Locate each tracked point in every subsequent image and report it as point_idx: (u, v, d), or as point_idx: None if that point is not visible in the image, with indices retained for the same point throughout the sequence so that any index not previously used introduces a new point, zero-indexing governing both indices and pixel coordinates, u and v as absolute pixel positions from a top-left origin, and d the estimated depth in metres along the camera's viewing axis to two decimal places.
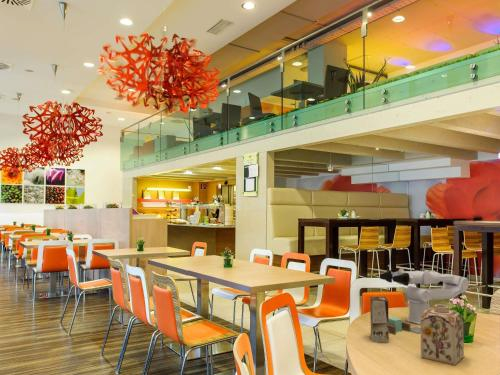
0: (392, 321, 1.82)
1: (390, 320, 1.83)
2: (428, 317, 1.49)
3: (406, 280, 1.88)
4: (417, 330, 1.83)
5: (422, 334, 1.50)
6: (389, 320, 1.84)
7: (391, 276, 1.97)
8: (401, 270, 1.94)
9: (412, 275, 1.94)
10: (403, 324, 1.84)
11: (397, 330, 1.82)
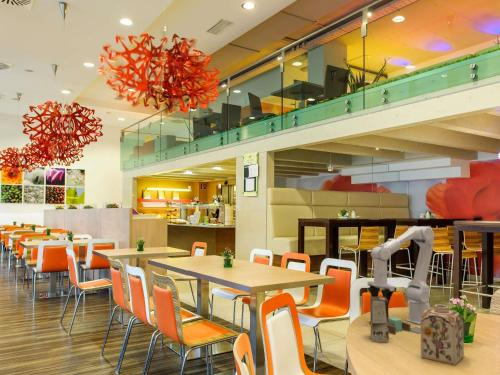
0: (392, 321, 1.82)
1: (390, 320, 1.83)
2: (428, 317, 1.49)
3: (389, 291, 1.87)
4: (417, 330, 1.83)
5: (422, 334, 1.50)
6: (389, 320, 1.84)
7: (375, 288, 1.94)
8: (375, 286, 1.90)
9: (382, 275, 1.89)
10: (403, 324, 1.84)
11: (397, 330, 1.82)
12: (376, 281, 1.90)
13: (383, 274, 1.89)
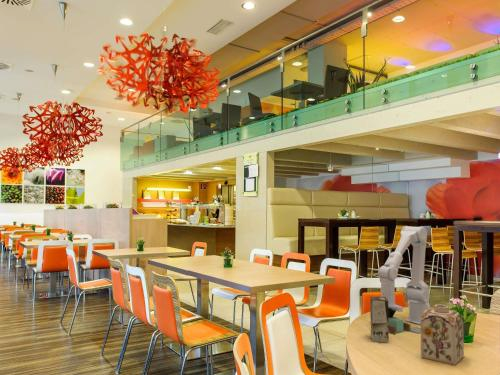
0: (394, 321, 1.82)
1: (392, 320, 1.83)
2: (428, 317, 1.49)
3: None
4: (417, 330, 1.83)
5: (422, 334, 1.50)
6: (391, 320, 1.83)
7: None
8: None
9: (390, 295, 1.85)
10: (403, 324, 1.84)
11: (399, 330, 1.81)
12: None
13: (392, 294, 1.85)
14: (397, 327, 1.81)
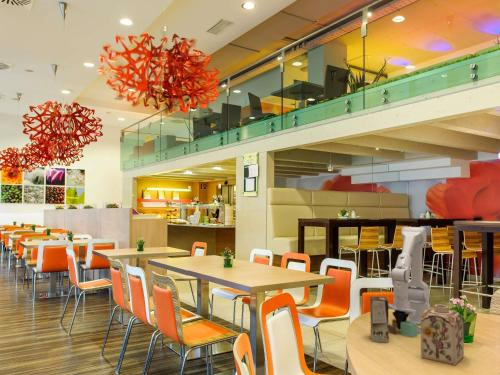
0: (407, 325, 1.75)
1: (405, 324, 1.76)
2: (428, 317, 1.49)
3: None
4: (417, 330, 1.83)
5: (422, 334, 1.50)
6: (404, 324, 1.77)
7: None
8: (396, 309, 1.79)
9: (403, 298, 1.78)
10: None
11: (412, 335, 1.75)
12: (396, 304, 1.79)
13: (406, 297, 1.79)
14: (411, 331, 1.74)
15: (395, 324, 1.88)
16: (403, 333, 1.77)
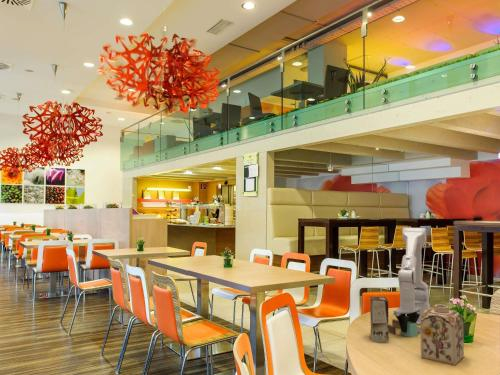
0: (407, 325, 1.75)
1: None
2: (428, 317, 1.49)
3: None
4: (417, 330, 1.83)
5: (422, 334, 1.50)
6: None
7: (411, 314, 1.79)
8: None
9: (400, 298, 1.78)
10: None
11: (412, 335, 1.75)
12: None
13: (414, 298, 1.76)
14: (411, 331, 1.74)
15: (395, 324, 1.88)
16: (403, 333, 1.77)
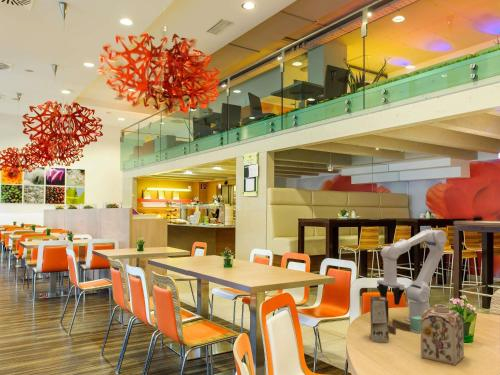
0: None
1: None
2: (428, 317, 1.49)
3: (400, 290, 1.90)
4: None
5: (422, 334, 1.50)
6: None
7: (384, 286, 1.98)
8: (385, 284, 1.93)
9: (392, 274, 1.92)
10: (403, 324, 1.84)
11: None
12: (386, 280, 1.93)
13: (392, 273, 1.92)
14: None
15: (395, 324, 1.88)
16: (420, 329, 1.82)
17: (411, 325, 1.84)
